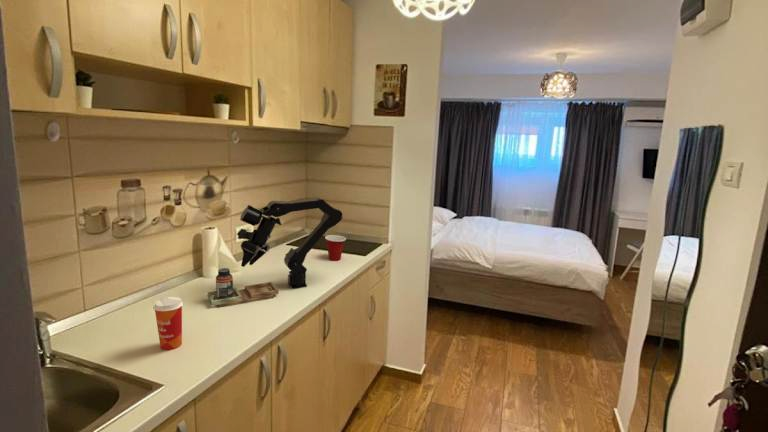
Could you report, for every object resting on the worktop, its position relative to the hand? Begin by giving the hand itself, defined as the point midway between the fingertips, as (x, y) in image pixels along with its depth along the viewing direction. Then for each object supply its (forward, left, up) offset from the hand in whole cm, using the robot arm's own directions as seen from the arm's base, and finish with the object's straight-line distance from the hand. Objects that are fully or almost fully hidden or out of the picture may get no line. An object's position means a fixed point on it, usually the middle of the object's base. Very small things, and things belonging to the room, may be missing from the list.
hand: (246, 265), depth 160 cm
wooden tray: (+2, +4, -11) cm, 12 cm away
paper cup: (+29, +32, -12) cm, 45 cm away
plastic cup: (-51, -26, -12) cm, 58 cm away
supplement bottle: (+9, +4, -10) cm, 15 cm away
